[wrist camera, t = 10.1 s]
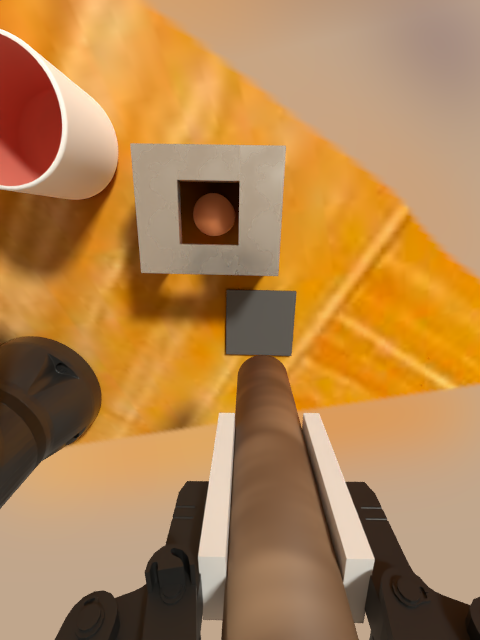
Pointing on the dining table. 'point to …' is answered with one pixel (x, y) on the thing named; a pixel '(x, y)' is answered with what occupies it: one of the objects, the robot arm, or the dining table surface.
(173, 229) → the grey box with hole
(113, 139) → the cup
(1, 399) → the robot arm
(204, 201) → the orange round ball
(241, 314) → the coaster
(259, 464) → the rod
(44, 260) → the dining table surface
